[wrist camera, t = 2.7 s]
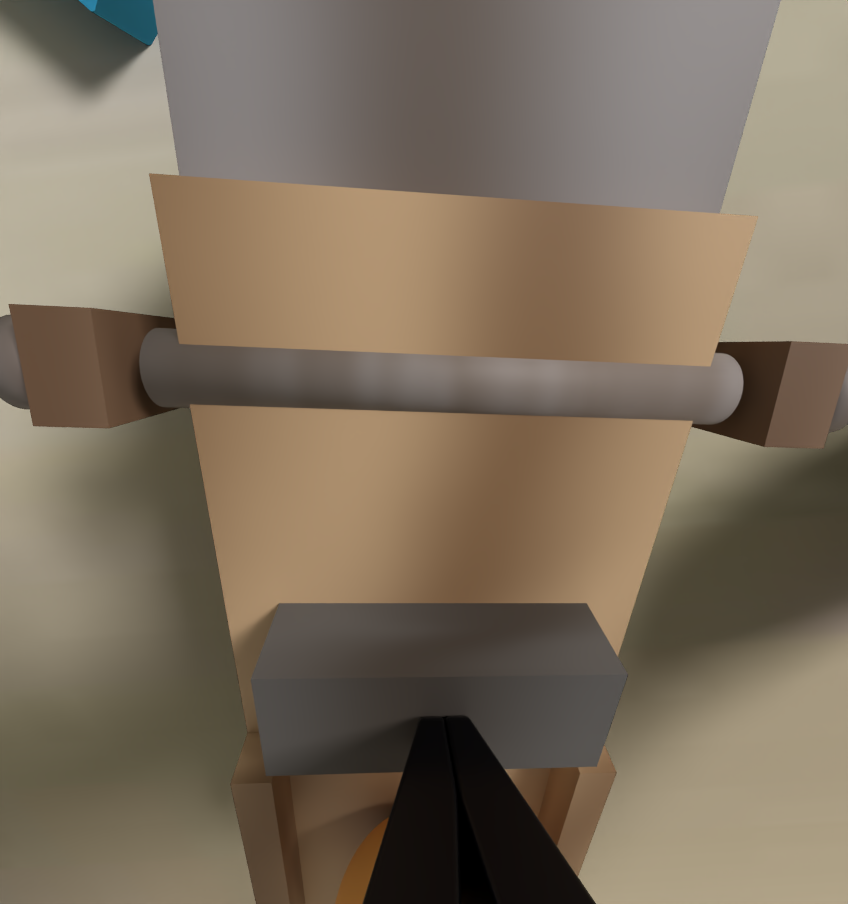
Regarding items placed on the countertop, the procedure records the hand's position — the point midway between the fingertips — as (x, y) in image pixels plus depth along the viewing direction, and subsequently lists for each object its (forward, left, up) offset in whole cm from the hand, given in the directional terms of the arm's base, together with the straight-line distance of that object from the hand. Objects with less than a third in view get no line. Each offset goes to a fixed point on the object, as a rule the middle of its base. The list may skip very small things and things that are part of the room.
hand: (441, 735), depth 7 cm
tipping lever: (0, -1, -7) cm, 7 cm away
